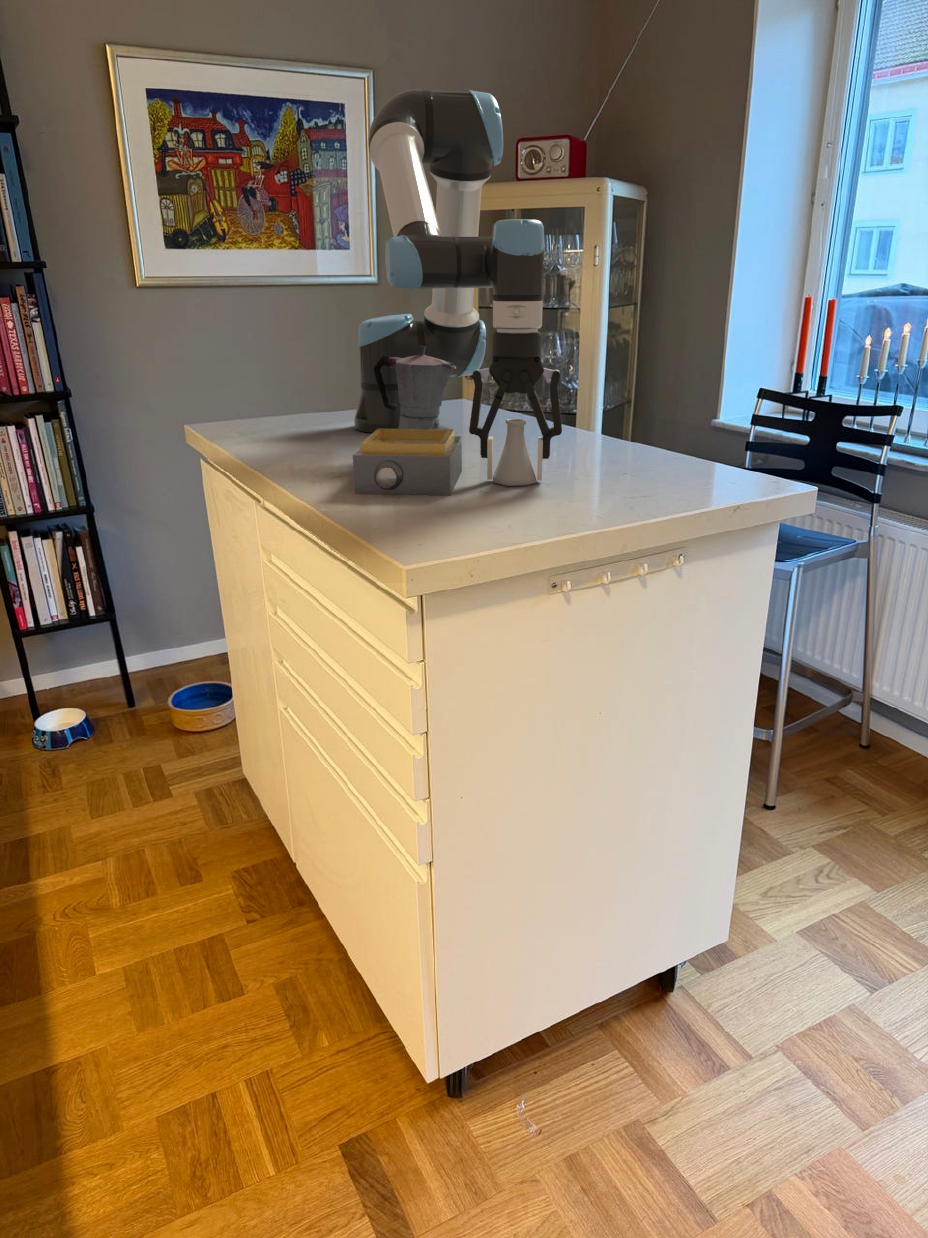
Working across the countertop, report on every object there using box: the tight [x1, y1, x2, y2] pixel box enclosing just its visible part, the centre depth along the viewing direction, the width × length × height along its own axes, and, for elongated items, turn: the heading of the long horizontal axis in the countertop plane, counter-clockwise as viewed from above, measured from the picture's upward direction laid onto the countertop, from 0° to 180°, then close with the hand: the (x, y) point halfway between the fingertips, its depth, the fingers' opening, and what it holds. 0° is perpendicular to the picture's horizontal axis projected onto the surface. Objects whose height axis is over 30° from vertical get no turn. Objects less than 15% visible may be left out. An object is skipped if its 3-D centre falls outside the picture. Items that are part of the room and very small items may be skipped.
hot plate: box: [352, 428, 463, 496], centre depth 139 cm, size 19×15×8 cm
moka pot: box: [374, 345, 456, 429], centre depth 155 cm, size 10×15×20 cm, turn 78°
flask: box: [492, 418, 538, 486], centre depth 139 cm, size 7×7×10 cm
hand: (514, 477), depth 141 cm, fingers closed on flask, 7 cm apart
